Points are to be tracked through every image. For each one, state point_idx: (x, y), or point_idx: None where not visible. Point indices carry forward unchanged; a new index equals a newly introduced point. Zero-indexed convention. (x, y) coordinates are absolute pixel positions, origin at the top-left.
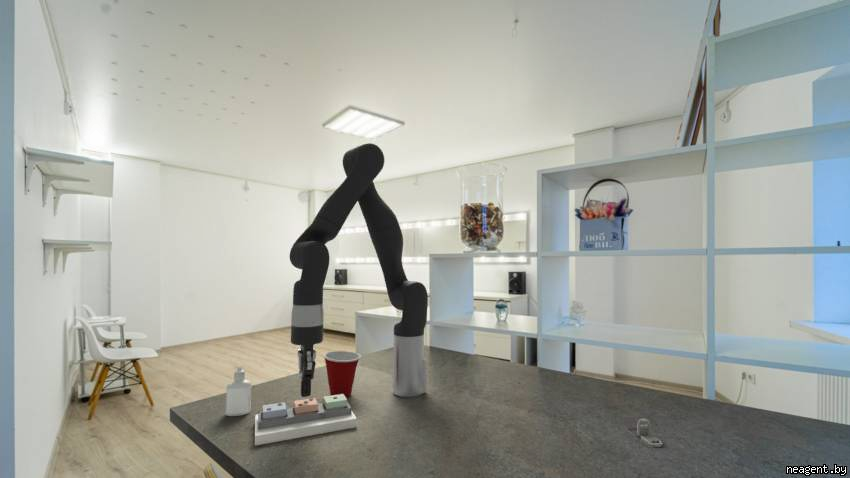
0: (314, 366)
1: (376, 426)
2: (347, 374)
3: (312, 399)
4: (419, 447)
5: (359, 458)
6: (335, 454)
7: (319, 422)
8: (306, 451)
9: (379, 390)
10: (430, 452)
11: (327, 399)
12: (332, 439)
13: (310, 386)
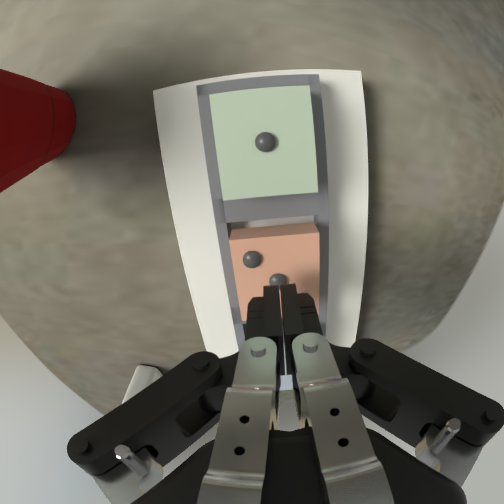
0: (488, 401)
1: (360, 21)
2: (18, 95)
3: (256, 254)
4: (478, 8)
5: (495, 135)
6: (469, 179)
7: (348, 208)
8: (431, 242)
9: (52, 8)
10: (493, 8)
11: (272, 183)
12: (405, 168)
13: (299, 310)
